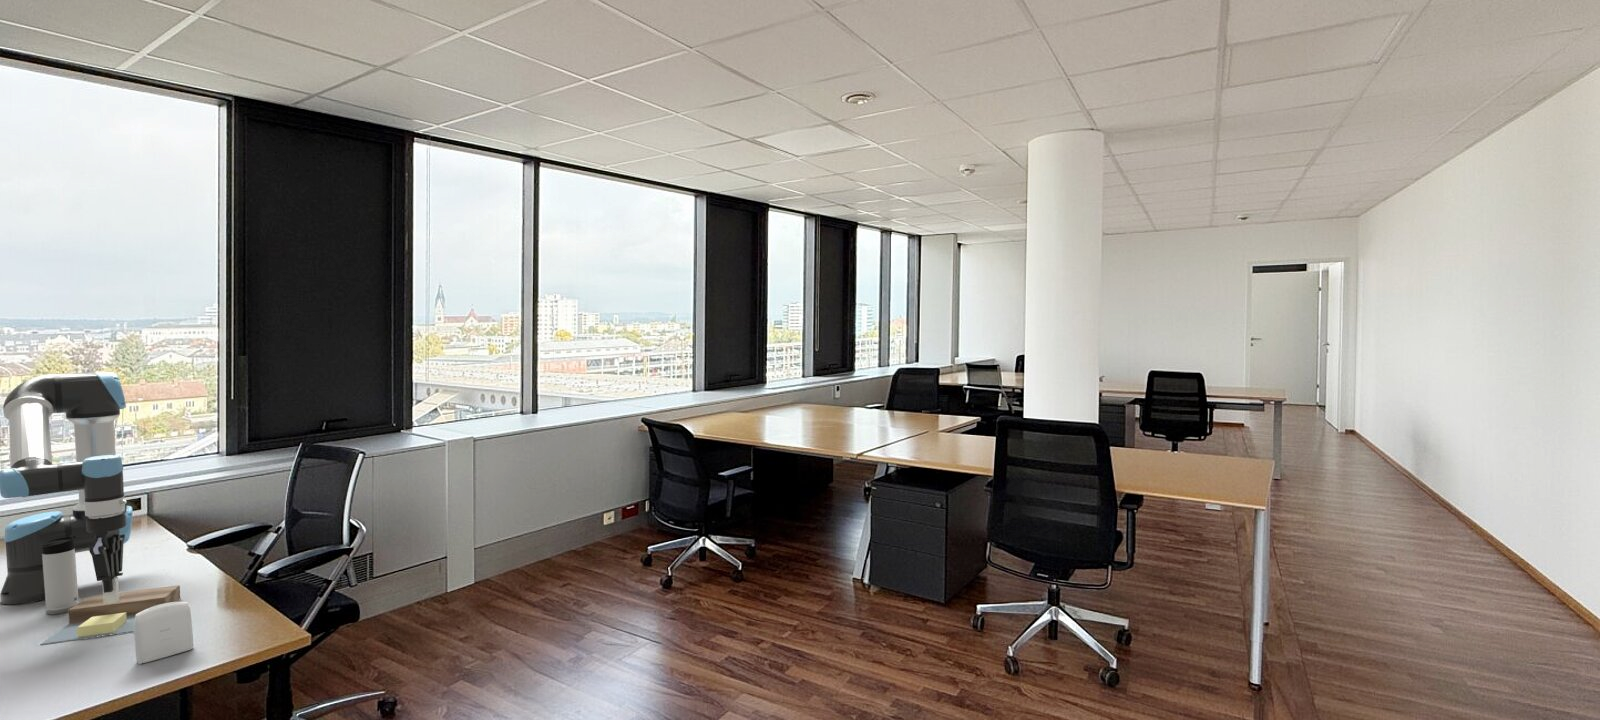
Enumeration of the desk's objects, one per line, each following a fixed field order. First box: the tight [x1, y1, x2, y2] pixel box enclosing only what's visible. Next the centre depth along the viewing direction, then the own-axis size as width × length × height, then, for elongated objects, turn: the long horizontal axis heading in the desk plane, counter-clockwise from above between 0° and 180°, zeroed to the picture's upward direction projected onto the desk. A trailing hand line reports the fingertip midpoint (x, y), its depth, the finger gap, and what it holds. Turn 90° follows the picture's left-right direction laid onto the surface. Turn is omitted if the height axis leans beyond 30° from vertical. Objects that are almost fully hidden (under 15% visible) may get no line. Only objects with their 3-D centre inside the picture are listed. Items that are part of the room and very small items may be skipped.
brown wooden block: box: [67, 584, 181, 624], centre depth 195 cm, size 10×20×4 cm, turn 113°
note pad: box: [77, 612, 127, 637], centre depth 183 cm, size 7×7×2 cm
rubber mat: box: [39, 615, 135, 646], centre depth 185 cm, size 13×20×1 cm, turn 113°
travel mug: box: [42, 536, 79, 615], centre depth 196 cm, size 6×7×20 cm
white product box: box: [133, 601, 194, 665], centre depth 169 cm, size 10×4×12 cm, turn 140°
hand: (111, 602), depth 188 cm, fingers closed
